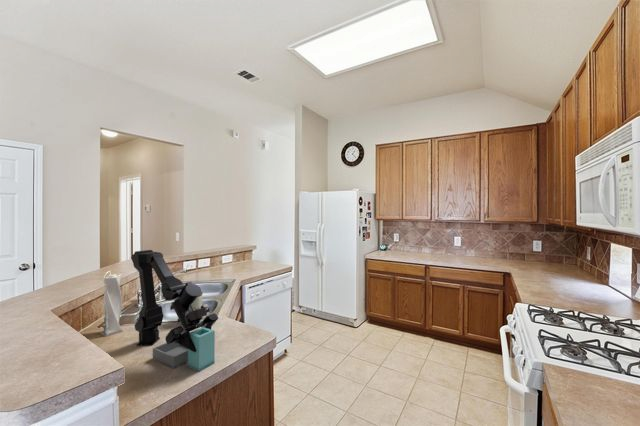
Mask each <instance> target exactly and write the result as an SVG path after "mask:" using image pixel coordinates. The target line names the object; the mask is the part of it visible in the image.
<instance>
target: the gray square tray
mask: <svg viewBox="0 0 640 426" xmlns="http://www.w3.org/2000/svg"><path fill="white" fill-rule="evenodd" d="M152 360H155V361H156V362H159V363H160V364H163V365H164V366H166V367H169V368H171V369H175V368H178V367H180V366H183V364H186V363H188V348H187V347H185V346H183V345H181V344H179V343H175V342H173V343H170V344H167V342H165V343H163V344H159V345H158V346H155V347H152Z"/></svg>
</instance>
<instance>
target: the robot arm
mask: <svg viewBox="0 0 640 426" xmlns="http://www.w3.org/2000/svg"><path fill="white" fill-rule="evenodd" d="M131 261H132V263H133V264H132V265H133V267H134V269H135V270H136V271H137V272H138V275H139V283H140V292H141V300H142V306H141V308H140V310H139V312H138V319H137V320H136V323H135V324H134V330H135V331H136V332H138V342H137V343H136V346H153V345H155V343H157V342H158V341H159V340H160V339H161V337H160V330H159V327H160V326H162V324H163V319H164V313H163V307H162V306H161V305H160V306H159V304H158V303H157V300H156V299H157V298H156V291H155V283H154V273H155V274H156V277H158V279H159V282H160V284H161V288H160V291H161V294H162V297H163V298H164V300H166V301H172V300H174V301H173V302H171V305H170V311H172V310H174V312H175V315H176V316H177V320H176V321H177V323H180V324H181V325H179V326H176V327H174V328H171V329H170V331H169V332H168V333H167V334H166V336H165V340H164V341H165V343H167V344H170V343H173V342H175V343H179V344H181V345H183V346H185V347H187V348H188V349H190V350H191V351H193V352H196V348H195V345H194V344H193V342H192V340H191V338H190V332H192V331H195V330H197V329H200V328H202V327H205V328H208V329H211V330H212V326H213V325H215V323H216V322H217V321H218V320H219V317H218V315H217V314H216V313H211V314H209V315H208V313H210V312H211V310H210V309H211V307H210V306H209V305H208V304H207V303H206V304H202V306H201V308H200V309H196V308H193V307H192V306H191V304H193V303H194V301H195V300H196V299H197V297H198V296H199V295H200V293H201V291H202V289H201V286H199V285H197V284H196V283H193V282H192V281H188V282H186V283H183V282H182V280H181V279H179V278H177V277H175V275H174V274H173V272H172V271H171V269H170V267H169V266H168V264H167V262H166V260H165V259H164V255H163V253H162V252H158V251H153V250H152V249H146V250H137V251H134V253H133V254H132V255H131ZM153 271H154V273H153ZM200 320H201V321H200Z"/></svg>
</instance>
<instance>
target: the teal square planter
mask: <svg viewBox="0 0 640 426" xmlns="http://www.w3.org/2000/svg"><path fill="white" fill-rule="evenodd" d="M189 333H190V338H191V340H192V342H193V344H194V345H195V348H196V352H193V351H191V350H190V349H188V362H187V367H188V368H190V369H193V370H194V371H197V372H198V373H199V372H201V371H204V370H205V369H207V368H208V367H210V366H212V365H214V364H215V363H216V362H215V361H216V359H215V349H216V348H215V347H216V346H215V344H216V343H215V341H216V338H215V330H214V329H212V328H211V329H208V328H205V327H200V328H197V329H195V330H192V331H190V332H189Z"/></svg>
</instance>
